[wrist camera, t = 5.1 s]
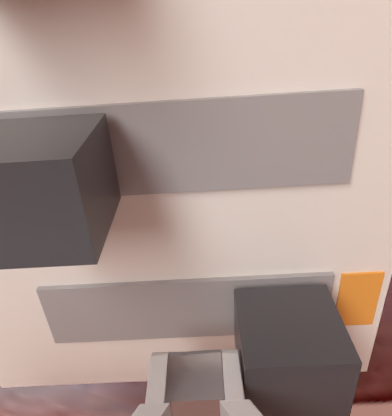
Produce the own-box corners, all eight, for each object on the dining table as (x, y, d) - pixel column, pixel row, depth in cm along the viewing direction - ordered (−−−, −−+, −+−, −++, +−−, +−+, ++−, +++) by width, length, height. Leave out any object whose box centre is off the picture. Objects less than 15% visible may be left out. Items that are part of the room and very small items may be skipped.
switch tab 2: (234, 339, 13) (244, 423, 11) (233, 288, 12) (244, 368, 10) (318, 335, 13) (349, 418, 11) (326, 284, 12) (362, 363, 10)
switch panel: (36, 315, 19) (-1, 392, 15) (-190, -284, 9) (-449, -472, 5) (334, 300, 19) (368, 375, 15) (440, -341, 9) (621, -587, 5)
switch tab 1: (15, 203, 11) (-43, 271, 8) (-13, 120, 9) (-92, 168, 7) (121, 197, 11) (96, 264, 8) (105, 113, 9) (71, 158, 7)
